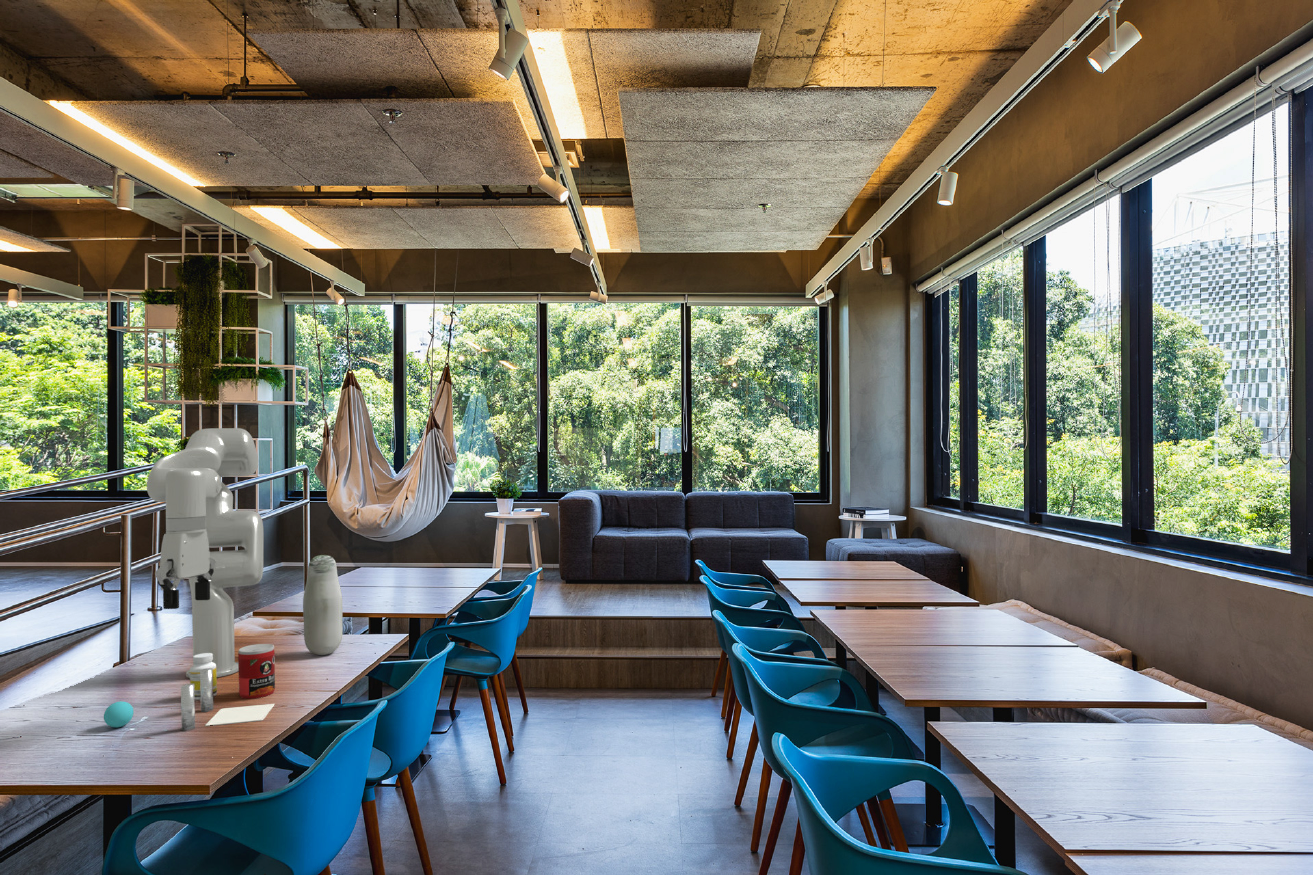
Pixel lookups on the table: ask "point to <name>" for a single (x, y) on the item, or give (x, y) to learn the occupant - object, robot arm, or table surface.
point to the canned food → (256, 671)
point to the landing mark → (240, 714)
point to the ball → (118, 714)
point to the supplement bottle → (199, 663)
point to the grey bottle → (322, 606)
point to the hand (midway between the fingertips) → (187, 604)
